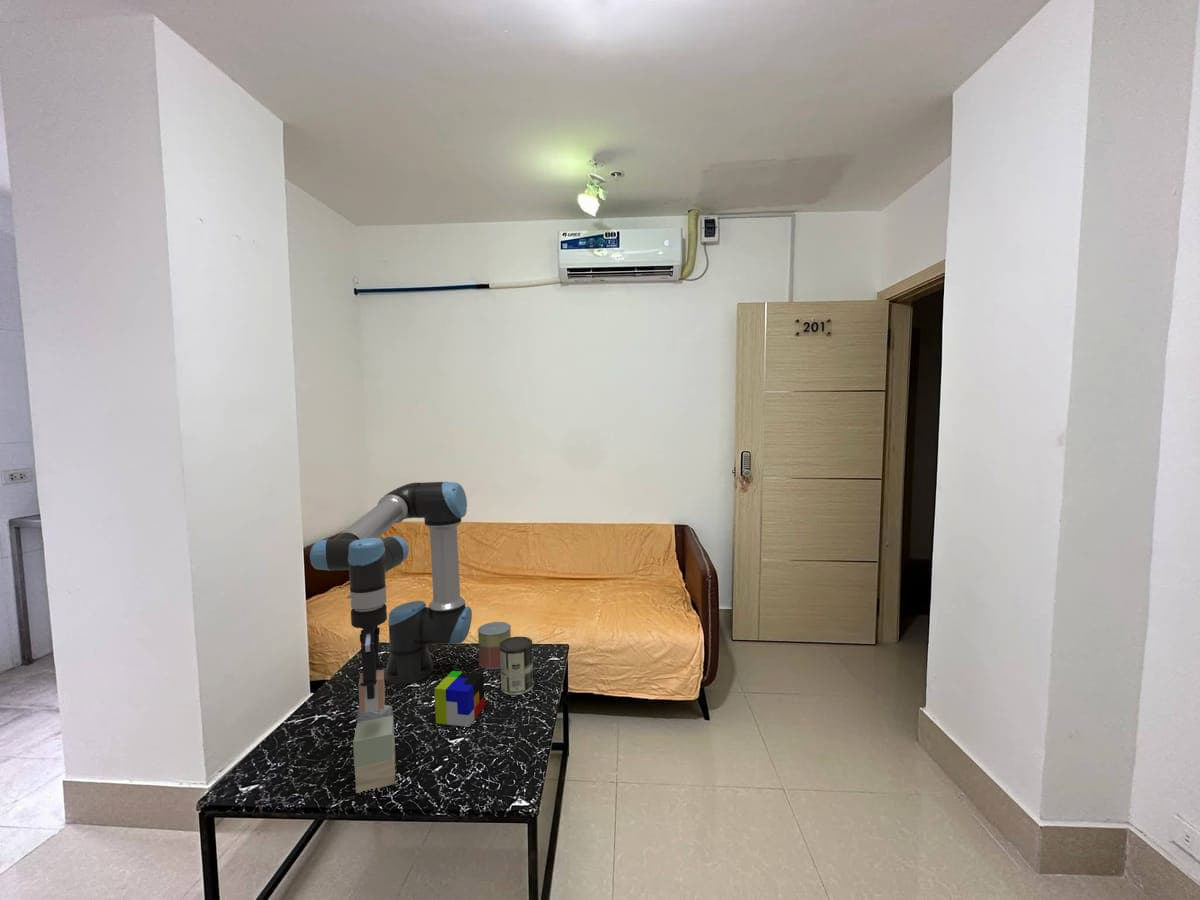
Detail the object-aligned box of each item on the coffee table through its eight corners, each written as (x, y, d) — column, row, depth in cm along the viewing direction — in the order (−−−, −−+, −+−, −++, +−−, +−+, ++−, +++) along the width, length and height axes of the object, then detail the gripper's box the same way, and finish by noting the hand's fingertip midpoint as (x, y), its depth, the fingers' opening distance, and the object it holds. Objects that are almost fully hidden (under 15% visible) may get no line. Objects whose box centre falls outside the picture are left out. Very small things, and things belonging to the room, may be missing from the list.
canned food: (507, 651, 181) (506, 619, 180) (515, 664, 170) (514, 630, 170) (476, 658, 176) (474, 625, 175) (482, 672, 166) (481, 637, 165)
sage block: (358, 746, 118) (357, 722, 118) (394, 738, 121) (393, 715, 121) (354, 768, 111) (353, 742, 110) (392, 759, 113) (391, 733, 113)
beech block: (359, 771, 118) (358, 747, 118) (395, 762, 121) (394, 739, 121) (356, 794, 111) (354, 768, 111) (394, 784, 114) (393, 759, 113)
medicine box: (394, 737, 131) (393, 705, 131) (381, 747, 127) (380, 714, 127) (371, 731, 134) (369, 700, 134) (358, 741, 130) (356, 709, 129)
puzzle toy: (469, 727, 135) (467, 691, 135) (435, 723, 137) (434, 688, 137) (484, 706, 145) (483, 673, 144) (453, 703, 147) (452, 670, 147)
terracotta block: (362, 702, 117) (360, 673, 116) (385, 698, 118) (383, 669, 118) (359, 713, 112) (358, 683, 112) (383, 708, 114) (382, 679, 113)
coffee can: (524, 675, 163) (523, 633, 162) (539, 688, 154) (537, 644, 154) (495, 684, 157) (494, 641, 157) (508, 699, 149) (507, 653, 148)
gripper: (355, 596, 121) (359, 688, 122) (345, 622, 104) (350, 729, 105) (388, 592, 124) (391, 682, 125) (384, 617, 107) (388, 721, 108)
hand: (372, 704), depth 115 cm, fingers closed on terracotta block, 5 cm apart
